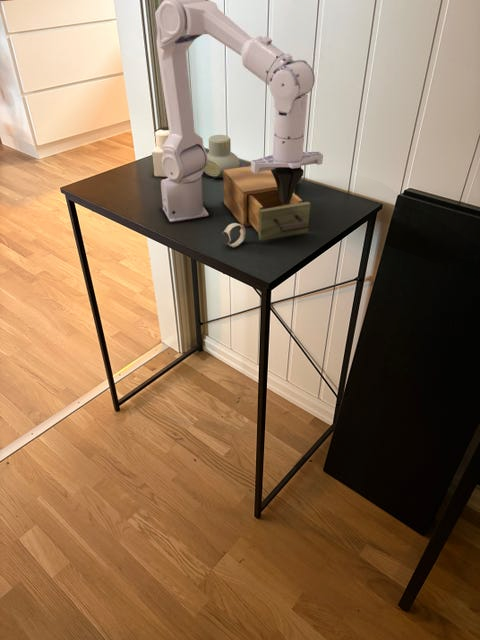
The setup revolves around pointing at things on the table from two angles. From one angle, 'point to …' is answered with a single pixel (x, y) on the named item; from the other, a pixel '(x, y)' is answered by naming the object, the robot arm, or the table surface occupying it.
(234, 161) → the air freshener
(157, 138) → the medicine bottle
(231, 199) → the cabinet
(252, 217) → the drawer
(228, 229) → the wristwatch
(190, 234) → the table surface
